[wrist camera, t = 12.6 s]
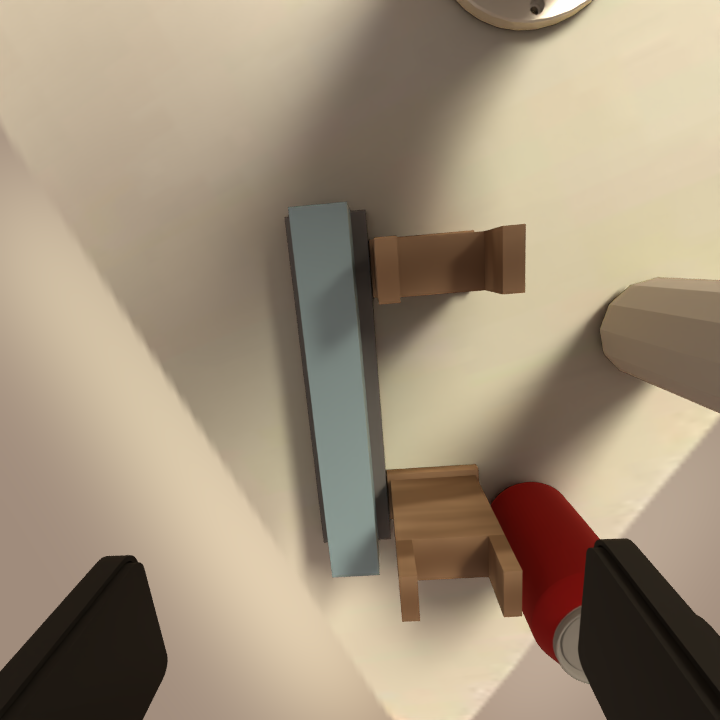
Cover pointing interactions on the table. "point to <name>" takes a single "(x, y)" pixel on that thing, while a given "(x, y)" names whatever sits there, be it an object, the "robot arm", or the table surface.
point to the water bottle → (668, 336)
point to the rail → (337, 383)
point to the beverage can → (548, 565)
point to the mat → (369, 370)
